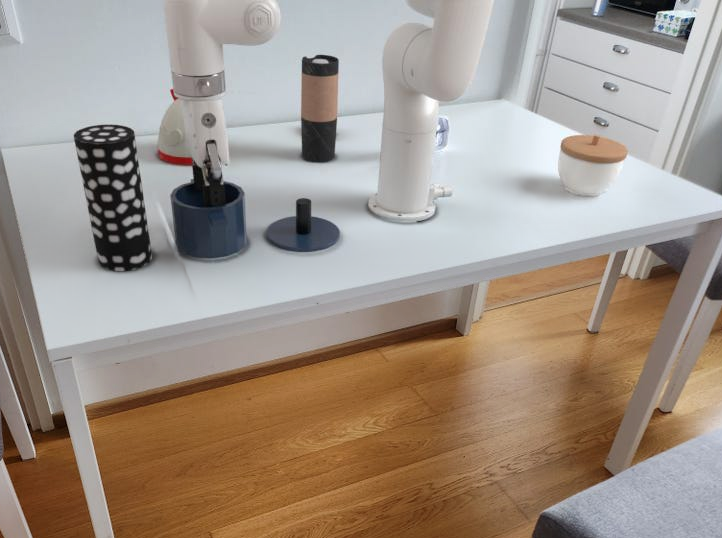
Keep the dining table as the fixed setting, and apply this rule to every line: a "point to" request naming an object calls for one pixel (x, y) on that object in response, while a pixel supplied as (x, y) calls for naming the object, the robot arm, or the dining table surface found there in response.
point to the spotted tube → (114, 196)
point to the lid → (303, 230)
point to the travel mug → (319, 107)
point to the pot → (208, 222)
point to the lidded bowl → (590, 163)
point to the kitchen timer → (174, 135)
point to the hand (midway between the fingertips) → (209, 197)
